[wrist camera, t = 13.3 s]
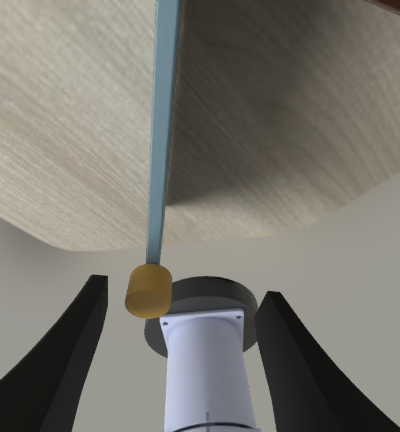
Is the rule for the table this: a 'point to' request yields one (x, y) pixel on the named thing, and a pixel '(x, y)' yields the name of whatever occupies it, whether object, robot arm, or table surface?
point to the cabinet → (387, 5)
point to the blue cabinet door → (158, 168)
